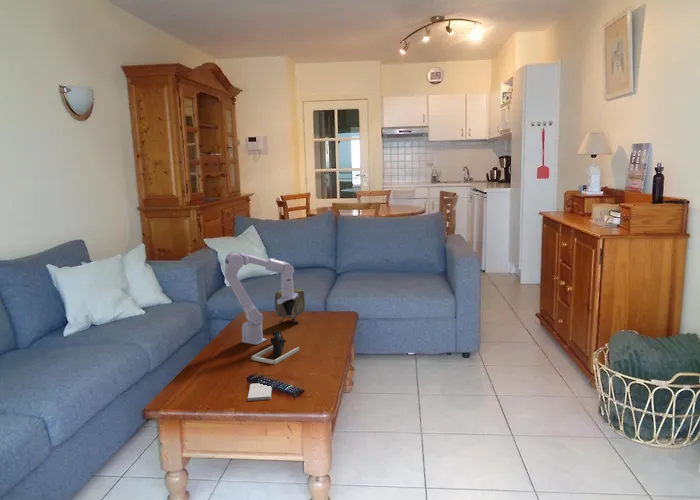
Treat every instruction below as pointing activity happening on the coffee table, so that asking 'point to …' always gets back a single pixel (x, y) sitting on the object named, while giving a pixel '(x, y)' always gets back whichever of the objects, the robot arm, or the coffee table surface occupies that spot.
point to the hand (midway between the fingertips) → (288, 314)
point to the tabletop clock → (297, 308)
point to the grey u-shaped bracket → (258, 358)
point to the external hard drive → (259, 392)
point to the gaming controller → (277, 344)
